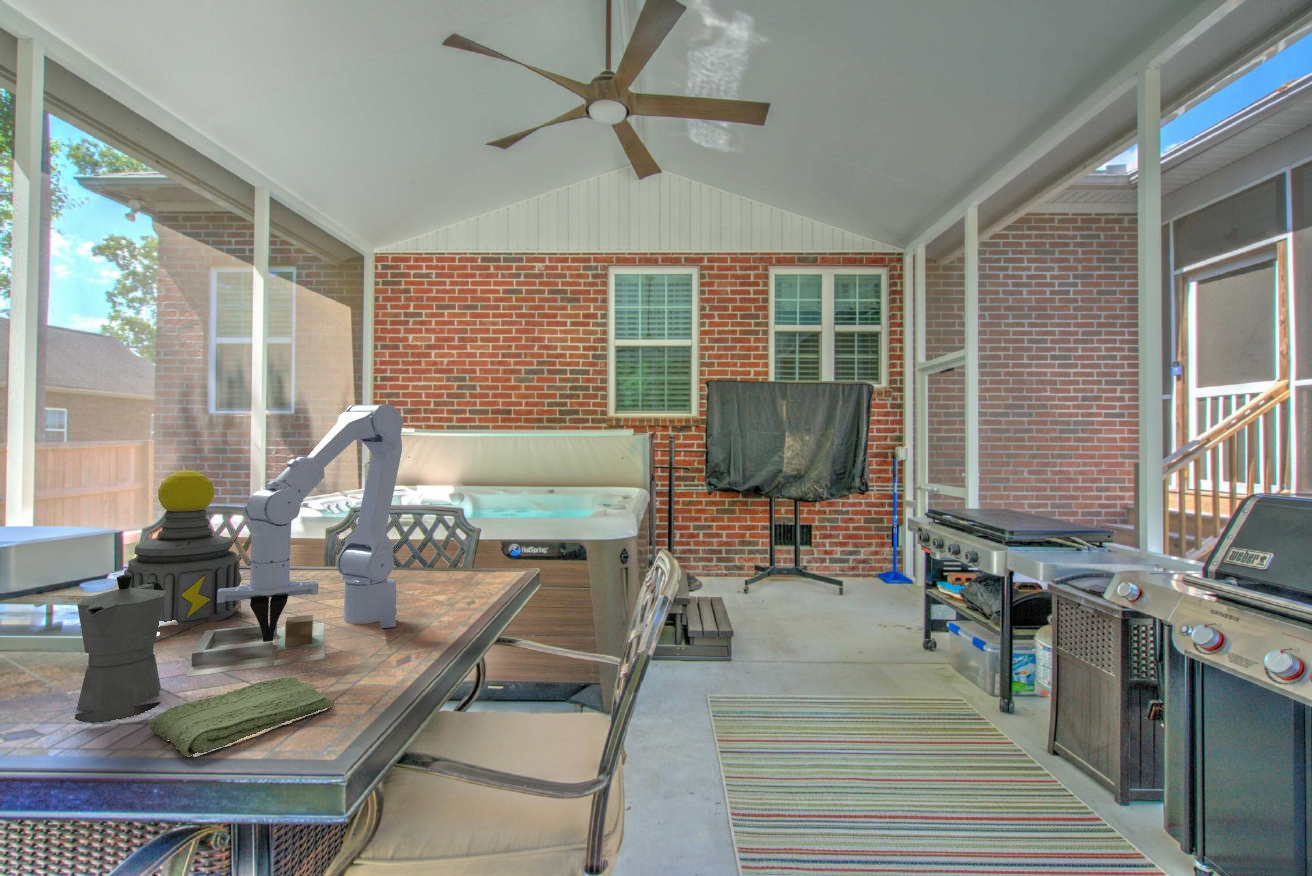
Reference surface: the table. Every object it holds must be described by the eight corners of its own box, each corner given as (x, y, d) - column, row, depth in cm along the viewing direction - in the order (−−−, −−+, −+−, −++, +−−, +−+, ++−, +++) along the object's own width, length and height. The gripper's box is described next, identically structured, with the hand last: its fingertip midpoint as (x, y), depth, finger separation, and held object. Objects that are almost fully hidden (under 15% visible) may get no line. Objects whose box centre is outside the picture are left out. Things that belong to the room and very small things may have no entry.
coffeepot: (131, 727, 77) (135, 585, 78) (41, 734, 75) (46, 587, 76) (193, 681, 92) (196, 561, 93) (120, 685, 90) (124, 563, 91)
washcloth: (339, 712, 84) (340, 688, 84) (187, 767, 69) (188, 739, 69) (290, 689, 91) (290, 668, 91) (142, 735, 76) (143, 709, 76)
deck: (323, 630, 118) (324, 612, 118) (324, 667, 99) (324, 646, 99) (209, 643, 110) (209, 623, 110) (185, 686, 90) (186, 663, 90)
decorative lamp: (112, 619, 123) (116, 469, 123) (223, 601, 137) (227, 467, 137) (132, 639, 110) (137, 473, 111) (252, 618, 125) (256, 471, 125)
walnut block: (312, 637, 109) (312, 614, 109) (312, 643, 106) (312, 620, 106) (286, 640, 107) (286, 617, 108) (285, 646, 104) (285, 623, 104)
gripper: (215, 567, 98) (212, 653, 97) (319, 561, 105) (316, 641, 104) (221, 560, 104) (219, 640, 104) (319, 554, 111) (316, 629, 111)
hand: (268, 640), depth 104 cm, fingers closed
